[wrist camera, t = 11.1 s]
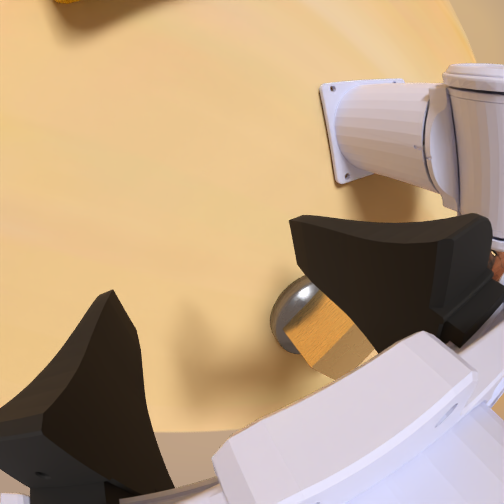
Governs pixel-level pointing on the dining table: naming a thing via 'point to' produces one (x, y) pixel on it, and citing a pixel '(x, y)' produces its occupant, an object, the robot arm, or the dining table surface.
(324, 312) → the wooden cube
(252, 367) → the dining table surface
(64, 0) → the element tile
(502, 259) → the brown arched piece
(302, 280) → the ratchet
